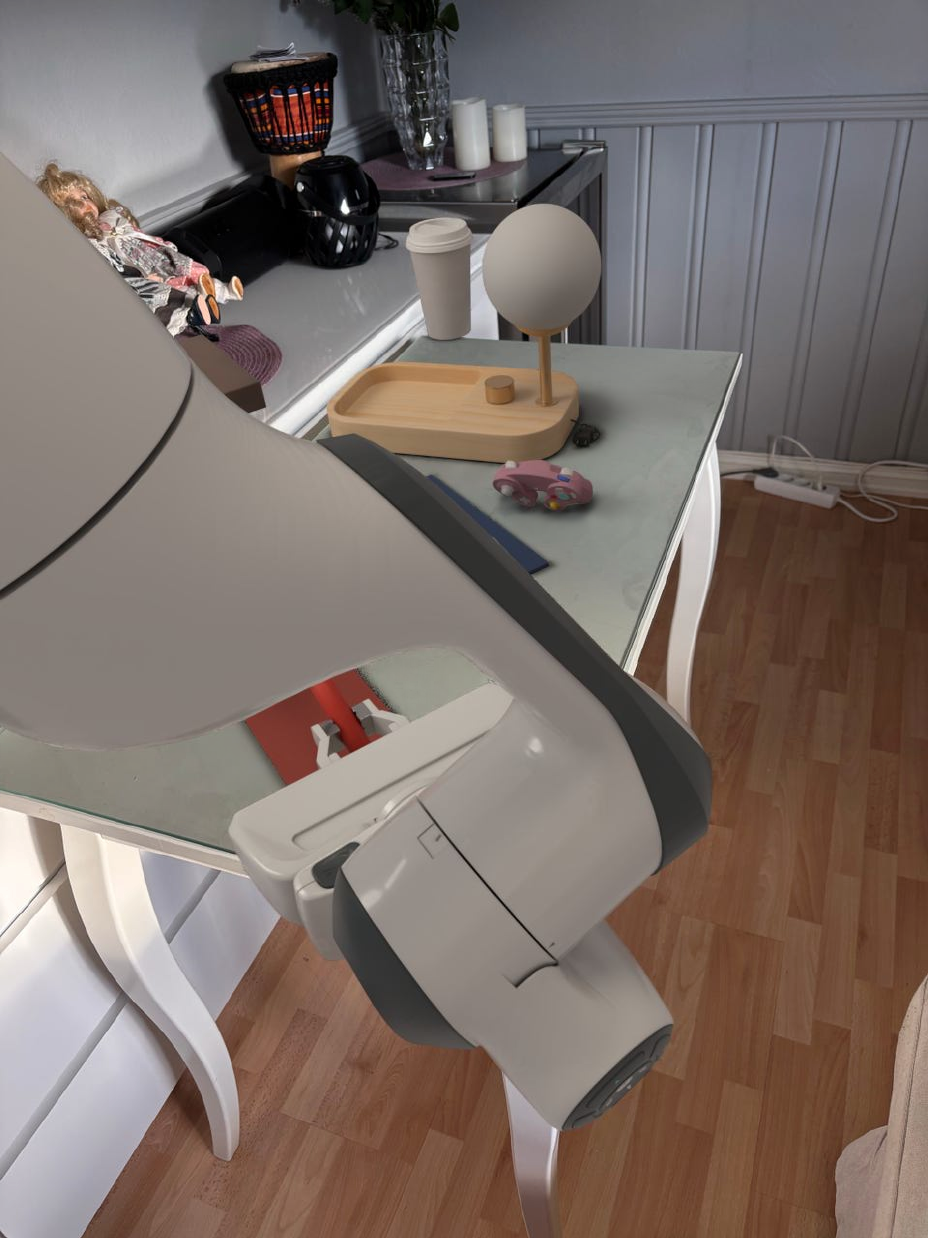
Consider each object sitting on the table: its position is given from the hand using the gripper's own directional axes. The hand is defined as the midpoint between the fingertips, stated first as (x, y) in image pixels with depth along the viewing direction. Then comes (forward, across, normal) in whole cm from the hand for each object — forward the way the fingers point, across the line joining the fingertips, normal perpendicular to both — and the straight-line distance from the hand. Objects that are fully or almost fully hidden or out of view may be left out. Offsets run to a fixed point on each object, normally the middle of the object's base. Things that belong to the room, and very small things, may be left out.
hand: (340, 719), depth 62 cm
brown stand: (+21, 0, +8) cm, 23 cm away
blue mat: (+25, -22, +8) cm, 34 cm away
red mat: (+8, -1, +8) cm, 11 cm away
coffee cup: (+71, -52, +8) cm, 88 cm away
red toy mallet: (+6, 0, -2) cm, 6 cm away
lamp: (+44, -38, +8) cm, 59 cm away
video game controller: (+23, -34, +8) cm, 42 cm away
